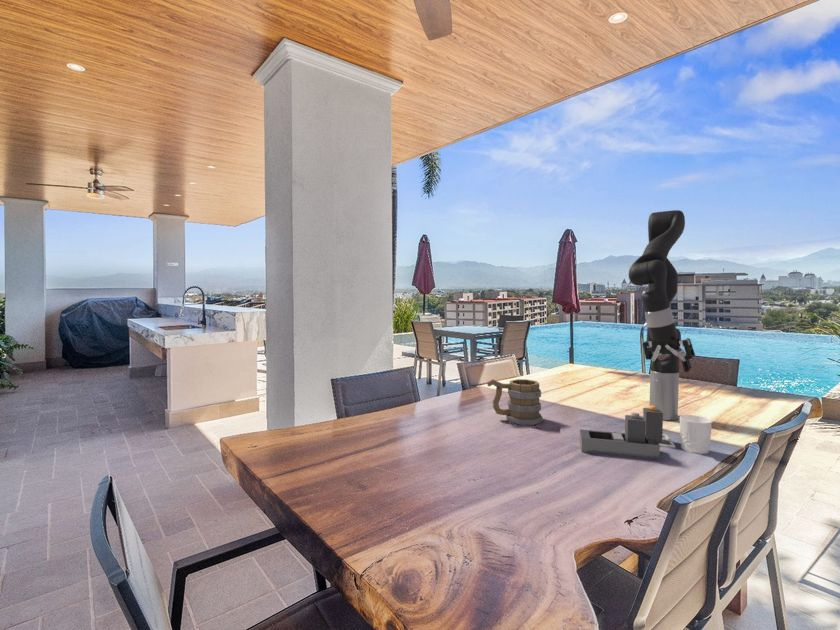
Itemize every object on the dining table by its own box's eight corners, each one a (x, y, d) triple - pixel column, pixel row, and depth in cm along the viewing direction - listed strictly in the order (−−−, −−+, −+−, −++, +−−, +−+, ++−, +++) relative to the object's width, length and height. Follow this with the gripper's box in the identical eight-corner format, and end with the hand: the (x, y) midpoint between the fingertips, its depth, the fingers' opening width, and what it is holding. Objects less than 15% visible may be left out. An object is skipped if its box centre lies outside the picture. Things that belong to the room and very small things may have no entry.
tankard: (538, 414, 161) (538, 376, 160) (544, 425, 149) (545, 383, 148) (485, 413, 163) (485, 375, 162) (487, 424, 151) (487, 382, 150)
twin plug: (624, 448, 124) (625, 410, 123) (641, 450, 123) (642, 412, 122) (627, 454, 120) (628, 415, 119) (644, 455, 119) (645, 416, 118)
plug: (642, 438, 134) (643, 404, 133) (658, 440, 132) (659, 405, 132) (645, 443, 129) (646, 407, 129) (662, 445, 128) (663, 408, 127)
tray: (631, 436, 137) (631, 431, 137) (666, 439, 134) (666, 434, 134) (637, 447, 127) (637, 442, 127) (674, 451, 125) (675, 445, 124)
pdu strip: (579, 445, 130) (579, 428, 129) (652, 452, 124) (653, 434, 123) (581, 455, 122) (581, 437, 122) (659, 463, 116) (659, 444, 116)
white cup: (695, 459, 119) (697, 424, 118) (672, 449, 126) (673, 416, 126) (717, 456, 121) (718, 421, 120) (693, 446, 128) (694, 413, 128)
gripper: (690, 317, 130) (702, 367, 131) (644, 321, 142) (656, 367, 143) (678, 324, 126) (691, 376, 127) (632, 328, 138) (645, 375, 139)
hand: (673, 371), depth 135 cm, fingers open, 8 cm apart
